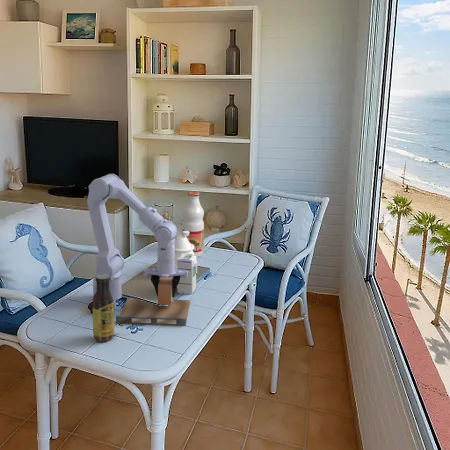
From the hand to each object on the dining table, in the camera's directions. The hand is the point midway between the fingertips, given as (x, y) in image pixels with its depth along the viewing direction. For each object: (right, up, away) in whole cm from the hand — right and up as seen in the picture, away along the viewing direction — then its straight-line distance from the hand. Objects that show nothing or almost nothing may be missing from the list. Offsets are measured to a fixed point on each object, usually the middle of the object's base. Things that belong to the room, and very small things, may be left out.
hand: (165, 295), depth 168 cm
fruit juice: (+6, +11, +52) cm, 53 cm away
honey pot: (+2, +4, +30) cm, 30 cm away
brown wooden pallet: (-3, -6, -3) cm, 7 cm away
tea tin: (0, -2, +1) cm, 2 cm away
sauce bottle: (-16, -10, -19) cm, 27 cm away
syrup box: (+6, -1, +13) cm, 14 cm away
